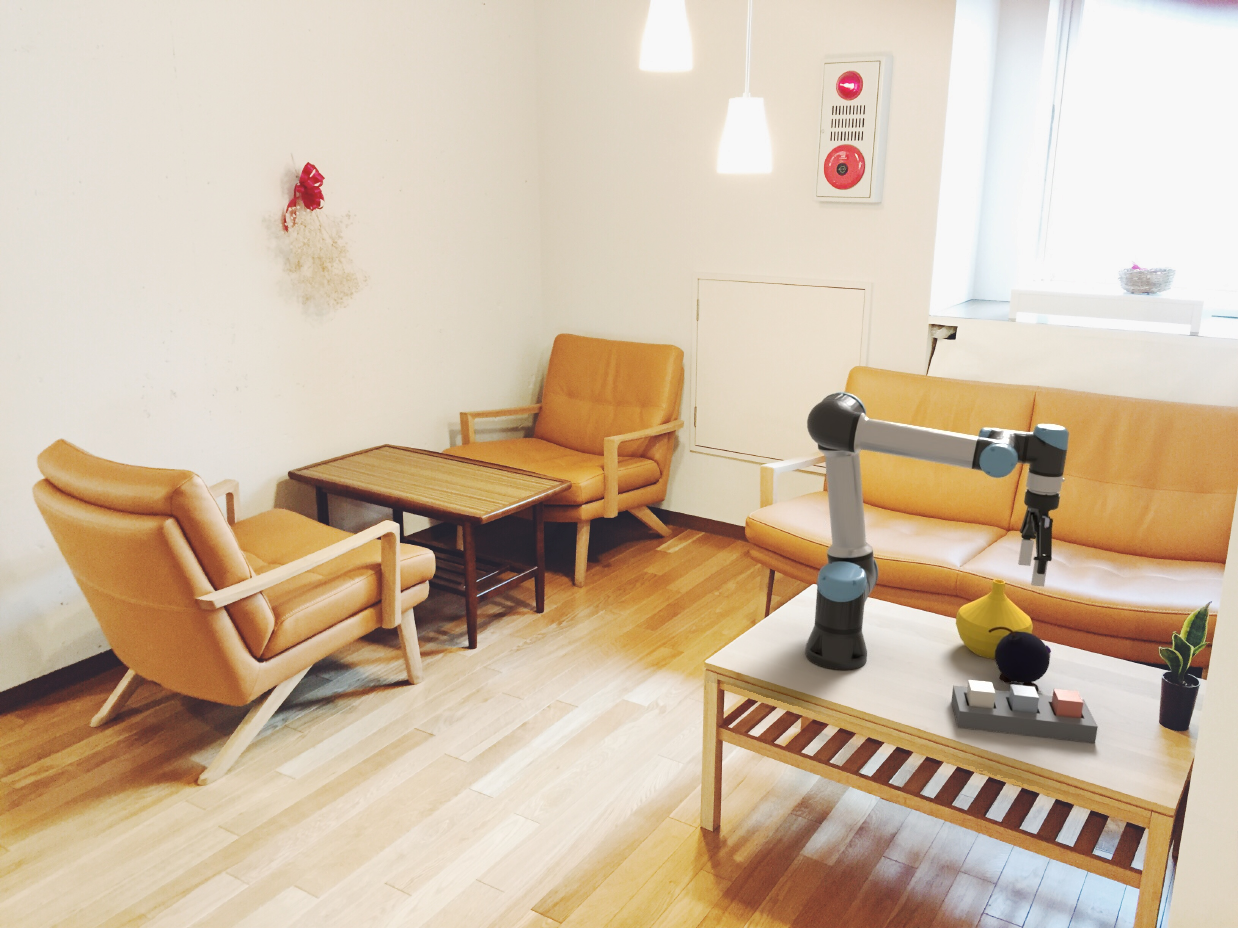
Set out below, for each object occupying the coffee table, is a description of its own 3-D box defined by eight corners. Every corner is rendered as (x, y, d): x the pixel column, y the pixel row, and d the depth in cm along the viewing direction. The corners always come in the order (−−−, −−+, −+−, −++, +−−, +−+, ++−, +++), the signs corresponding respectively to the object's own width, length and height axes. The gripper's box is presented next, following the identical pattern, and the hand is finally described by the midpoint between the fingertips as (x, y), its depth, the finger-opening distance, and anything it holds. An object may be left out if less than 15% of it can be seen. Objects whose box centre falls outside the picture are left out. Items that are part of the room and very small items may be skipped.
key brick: (1056, 715, 213) (1058, 699, 212) (1051, 704, 217) (1053, 688, 216) (1080, 718, 212) (1083, 702, 211) (1075, 707, 216) (1077, 691, 215)
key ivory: (969, 706, 216) (971, 690, 215) (966, 695, 221) (968, 679, 220) (993, 708, 215) (995, 692, 214) (989, 697, 220) (991, 682, 219)
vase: (1035, 646, 254) (1044, 577, 249) (1020, 674, 239) (1030, 601, 234) (962, 629, 264) (970, 563, 259) (944, 654, 249) (952, 584, 244)
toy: (1056, 692, 230) (1065, 634, 226) (1007, 700, 226) (1015, 640, 222) (1022, 669, 241) (1030, 613, 237) (975, 676, 238) (982, 619, 234)
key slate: (1012, 710, 214) (1014, 694, 213) (1008, 699, 219) (1010, 684, 218) (1036, 713, 213) (1039, 697, 212) (1032, 702, 218) (1034, 686, 217)
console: (957, 727, 214) (959, 710, 213) (951, 700, 226) (953, 685, 225) (1095, 743, 209) (1097, 726, 208) (1081, 715, 220) (1083, 699, 219)
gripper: (1074, 507, 217) (1060, 596, 223) (1046, 477, 241) (1034, 558, 247) (1039, 504, 218) (1026, 593, 224) (1014, 475, 242) (1003, 555, 248)
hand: (1030, 575), depth 235 cm, fingers open, 13 cm apart
